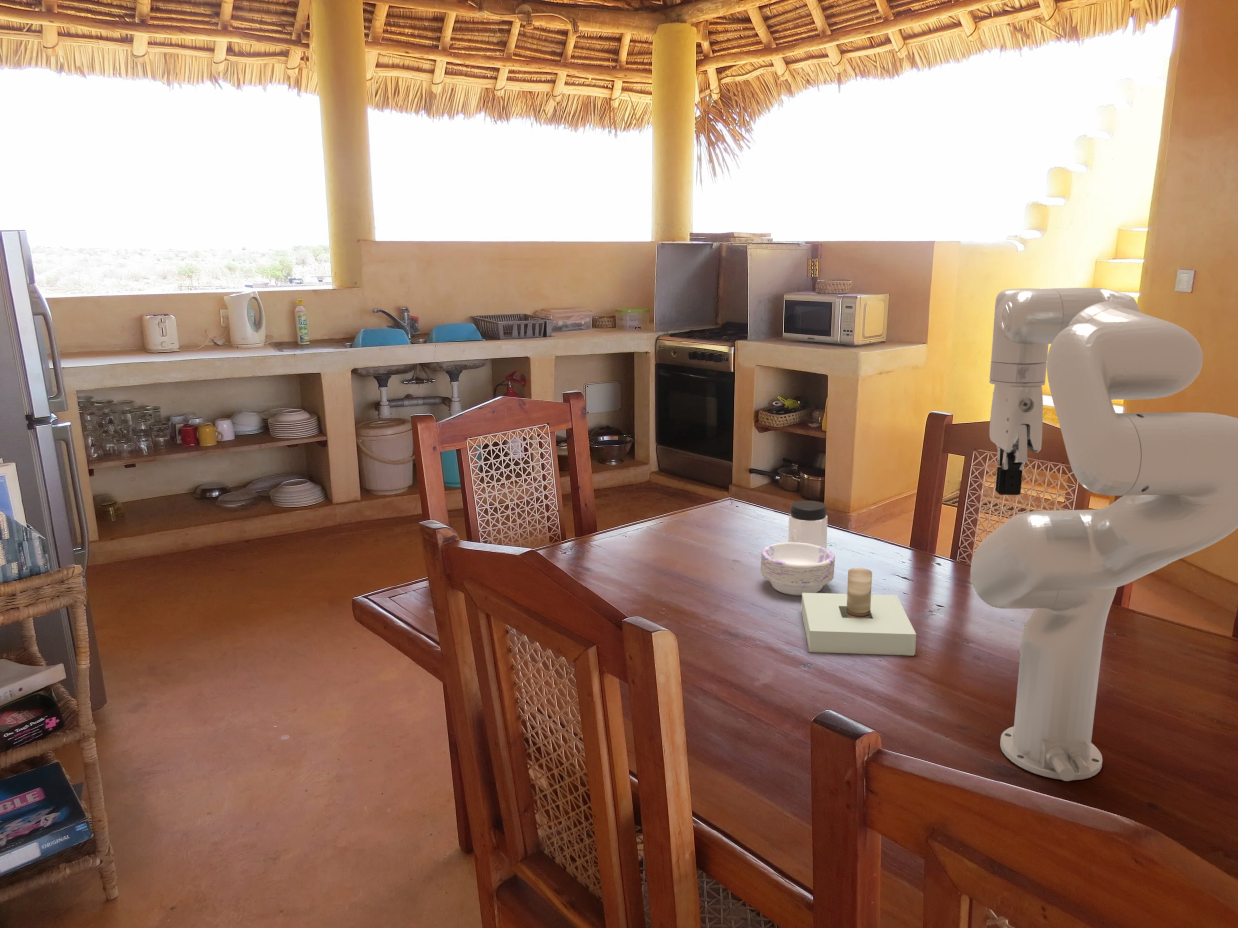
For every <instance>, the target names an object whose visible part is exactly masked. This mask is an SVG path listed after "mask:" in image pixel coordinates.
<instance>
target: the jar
mask: <svg viewBox="0 0 1238 928" xmlns="http://www.w3.org/2000/svg"><path fill="white" fill-rule="evenodd" d="M789 513H790V515H789V516H788V538H787V539H788V542H798V543H807V544H813V545H817V546H820V547H823V548H825V549H827V546H828V545H827V544H828V541H827V540H828V515H827V505H826V503H824V502H821V501H818V500H817V501H816V500H797V501H794V502H792V503H791V504H790V512H789Z"/></svg>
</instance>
